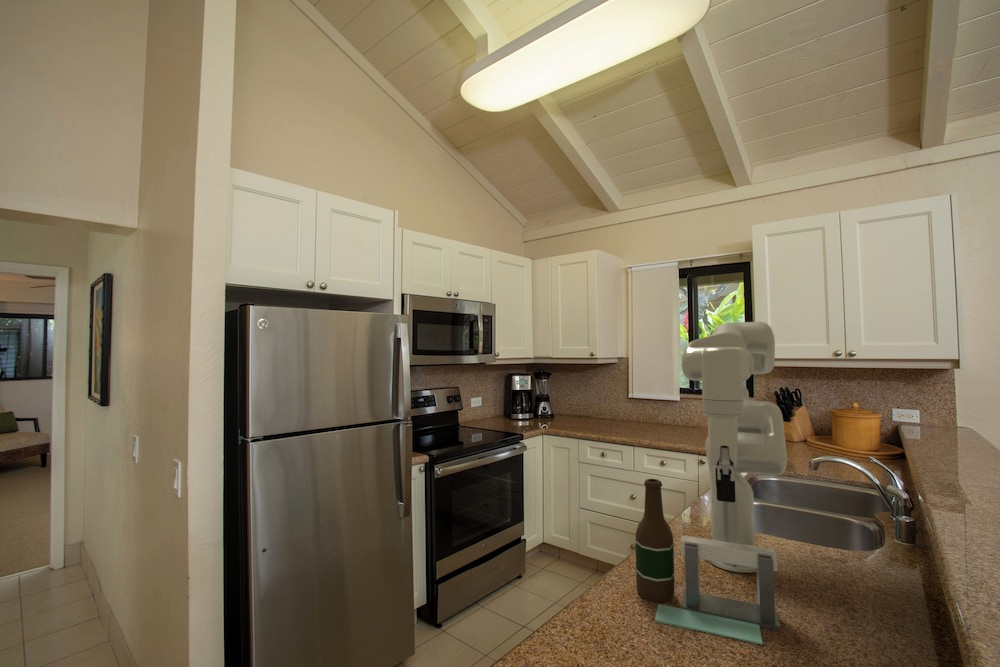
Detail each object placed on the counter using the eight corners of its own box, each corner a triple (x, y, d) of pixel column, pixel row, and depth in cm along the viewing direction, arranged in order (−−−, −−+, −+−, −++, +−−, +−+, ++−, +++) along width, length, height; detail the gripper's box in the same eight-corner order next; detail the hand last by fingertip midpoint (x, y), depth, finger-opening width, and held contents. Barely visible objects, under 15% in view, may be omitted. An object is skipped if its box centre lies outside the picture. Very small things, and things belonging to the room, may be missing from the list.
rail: (681, 549, 96) (681, 535, 97) (775, 564, 90) (774, 548, 90) (681, 555, 94) (680, 540, 94) (777, 571, 87) (777, 555, 87)
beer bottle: (677, 605, 93) (675, 486, 94) (638, 601, 95) (635, 484, 96) (671, 586, 101) (669, 476, 102) (635, 583, 103) (632, 474, 104)
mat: (658, 605, 93) (658, 603, 93) (759, 626, 86) (759, 624, 86) (655, 621, 88) (655, 619, 88) (762, 645, 81) (762, 643, 81)
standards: (683, 593, 98) (682, 534, 98) (775, 611, 91) (773, 548, 91) (681, 610, 92) (680, 547, 92) (780, 631, 85) (778, 562, 85)
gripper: (702, 403, 102) (704, 481, 101) (702, 412, 86) (704, 504, 86) (740, 404, 99) (743, 485, 98) (747, 414, 83) (750, 510, 83)
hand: (725, 494), depth 92 cm, fingers open, 9 cm apart
